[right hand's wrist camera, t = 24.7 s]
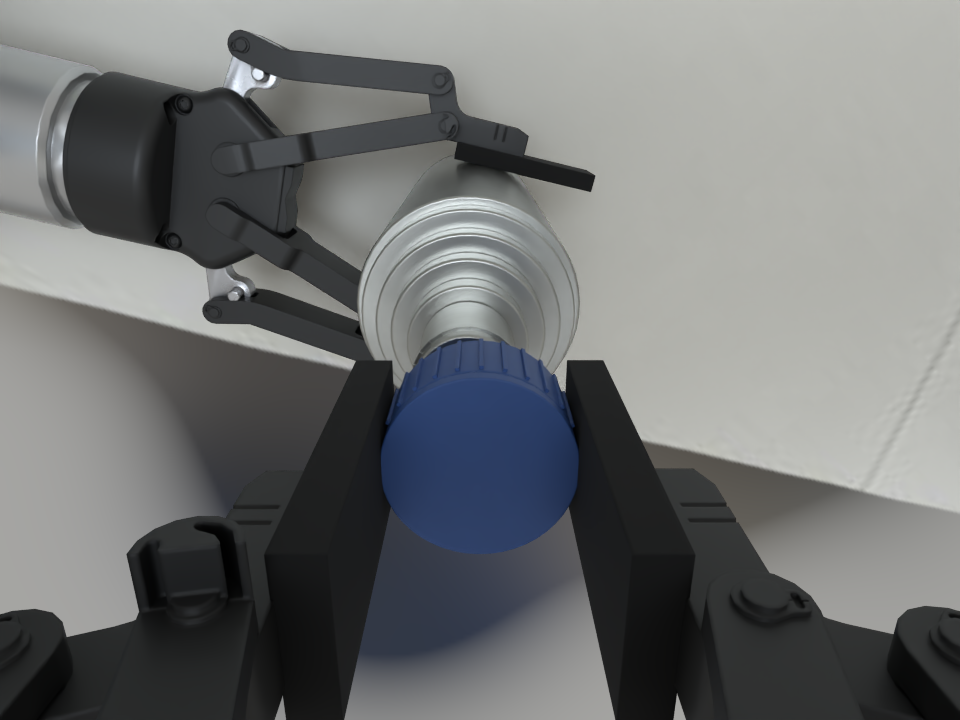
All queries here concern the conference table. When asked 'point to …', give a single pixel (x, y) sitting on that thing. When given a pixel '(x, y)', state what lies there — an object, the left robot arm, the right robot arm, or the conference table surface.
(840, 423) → the conference table surface
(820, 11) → the conference table surface
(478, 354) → the cap
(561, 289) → the bottle
